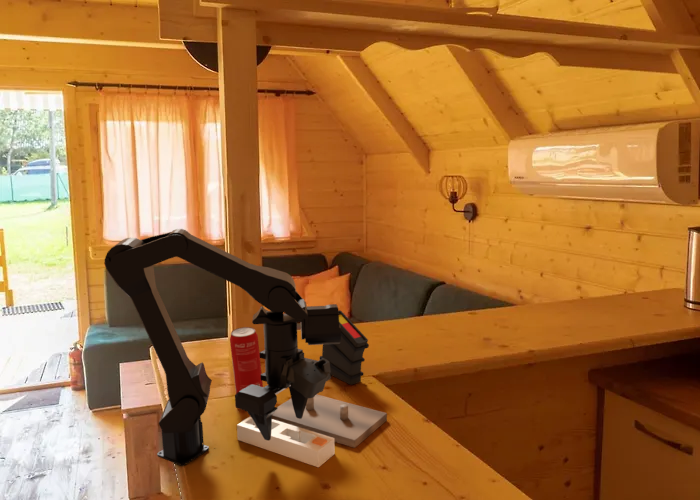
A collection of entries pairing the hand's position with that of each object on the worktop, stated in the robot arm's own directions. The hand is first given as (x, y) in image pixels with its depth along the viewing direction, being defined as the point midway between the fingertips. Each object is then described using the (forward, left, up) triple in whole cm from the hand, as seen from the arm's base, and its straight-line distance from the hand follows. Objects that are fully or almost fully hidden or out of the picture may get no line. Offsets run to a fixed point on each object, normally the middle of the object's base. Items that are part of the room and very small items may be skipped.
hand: (283, 428), depth 109 cm
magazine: (+31, +7, -4) cm, 32 cm away
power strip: (0, 0, -4) cm, 4 cm away
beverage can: (+12, +19, -4) cm, 23 cm away
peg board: (+12, -1, -4) cm, 13 cm away
